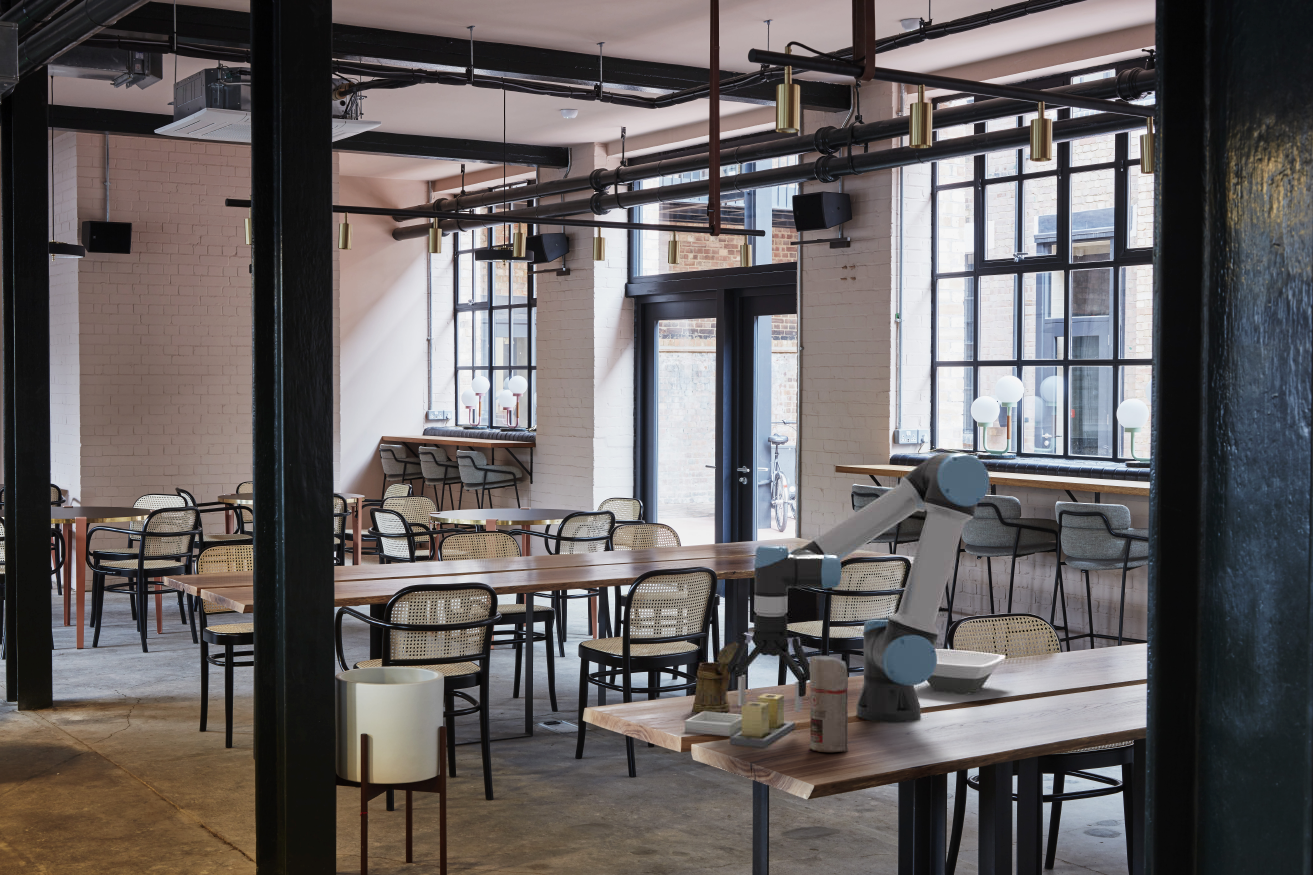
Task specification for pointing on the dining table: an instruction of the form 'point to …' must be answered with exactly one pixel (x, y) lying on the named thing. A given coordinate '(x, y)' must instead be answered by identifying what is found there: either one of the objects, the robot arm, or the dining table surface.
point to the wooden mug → (714, 683)
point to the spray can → (828, 704)
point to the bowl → (963, 670)
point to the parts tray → (714, 723)
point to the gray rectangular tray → (760, 742)
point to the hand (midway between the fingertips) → (769, 707)
